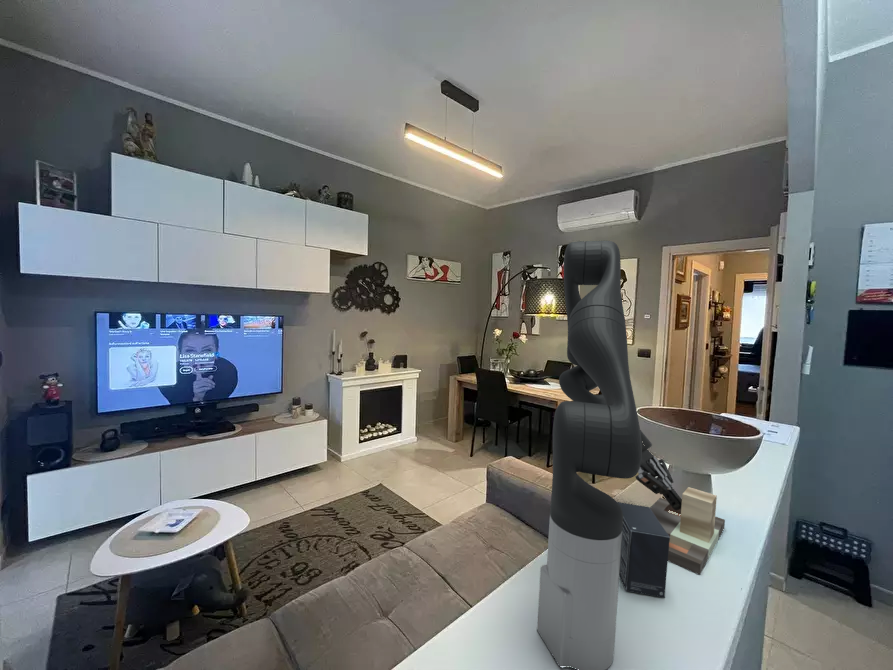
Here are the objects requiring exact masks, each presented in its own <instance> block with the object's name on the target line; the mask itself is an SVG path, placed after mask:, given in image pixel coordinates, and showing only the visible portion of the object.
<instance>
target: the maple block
mask: <svg viewBox="0 0 893 670" xmlns="http://www.w3.org/2000/svg"><path fill="white" fill-rule="evenodd" d="M681 499H682V506H681V520H680V532H682V533H684V534H687V535H689V536H692V537H695V538H697V539H700V540H702V541H705V542H708V543H709V542H710V540H711V538H712V536H713V534H714V526H715V517H716V512H717V499H718V497H717V495H716V494H714V493H713V494H712V493H710V492H706V491H703V490H700V489H696V488H692V487H689V486H688V487H687V488H686V489H685V490H684V492H682V495H681Z"/></svg>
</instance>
